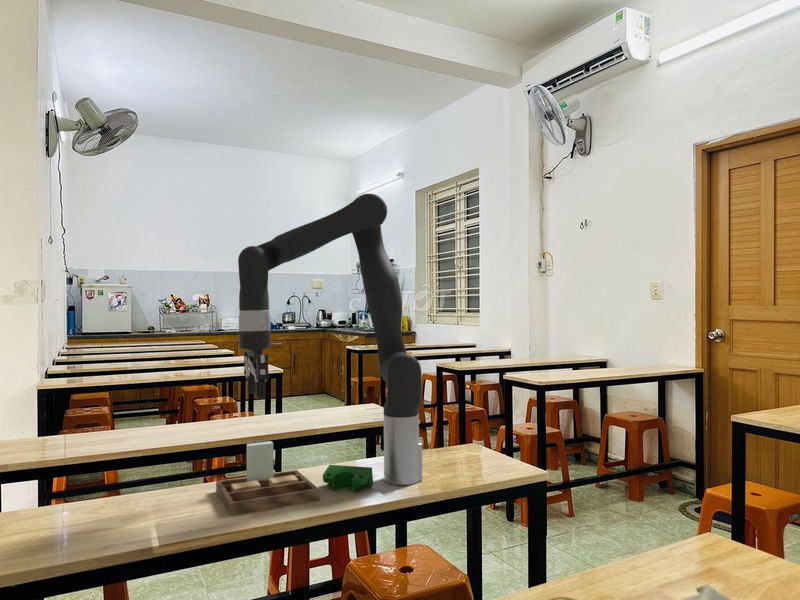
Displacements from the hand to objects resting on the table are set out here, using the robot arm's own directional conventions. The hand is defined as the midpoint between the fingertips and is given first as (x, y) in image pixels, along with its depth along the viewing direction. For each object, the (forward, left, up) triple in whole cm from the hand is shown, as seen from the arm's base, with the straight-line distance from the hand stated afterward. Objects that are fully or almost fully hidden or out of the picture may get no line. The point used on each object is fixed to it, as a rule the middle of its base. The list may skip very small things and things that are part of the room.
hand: (256, 395), depth 136 cm
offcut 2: (-6, +3, -23) cm, 24 cm away
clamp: (-20, +8, -25) cm, 33 cm away
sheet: (-1, -2, -23) cm, 23 cm away
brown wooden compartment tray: (-1, +5, -24) cm, 25 cm away
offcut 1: (+3, +3, -23) cm, 24 cm away
